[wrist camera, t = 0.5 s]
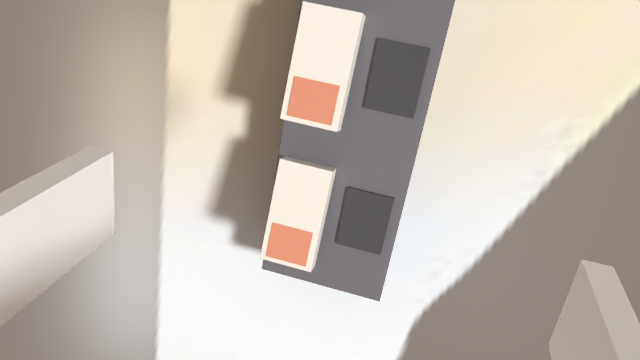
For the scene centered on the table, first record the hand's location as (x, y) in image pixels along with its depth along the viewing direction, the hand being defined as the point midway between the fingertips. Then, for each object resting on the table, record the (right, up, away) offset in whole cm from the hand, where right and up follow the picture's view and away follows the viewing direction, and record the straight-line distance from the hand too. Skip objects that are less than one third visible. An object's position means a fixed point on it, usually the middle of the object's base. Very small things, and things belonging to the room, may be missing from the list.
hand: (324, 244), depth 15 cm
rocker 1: (0, +9, +18) cm, 20 cm away
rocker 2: (-2, -1, +22) cm, 22 cm away
